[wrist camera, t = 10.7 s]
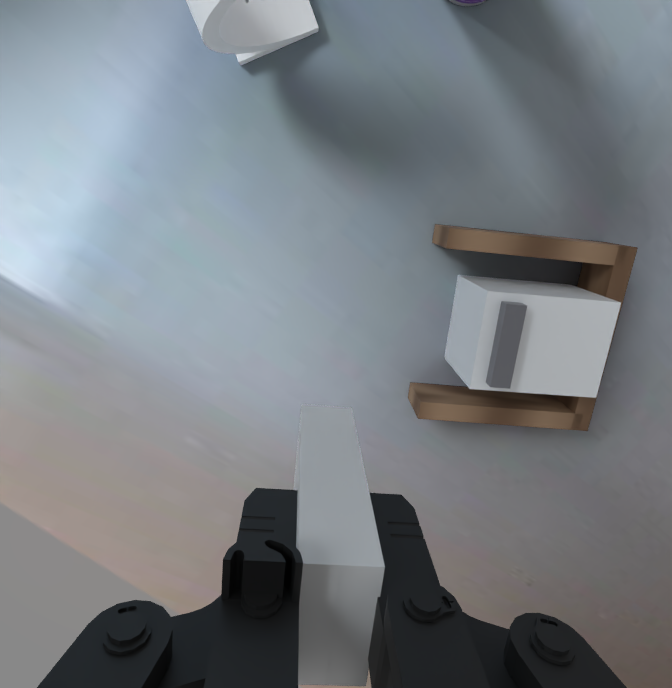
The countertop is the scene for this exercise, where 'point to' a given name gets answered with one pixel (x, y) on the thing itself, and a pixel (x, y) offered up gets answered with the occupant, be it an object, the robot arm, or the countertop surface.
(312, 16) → the headphone stand
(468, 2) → the container
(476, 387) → the matte white cube
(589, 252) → the bay
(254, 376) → the countertop surface
